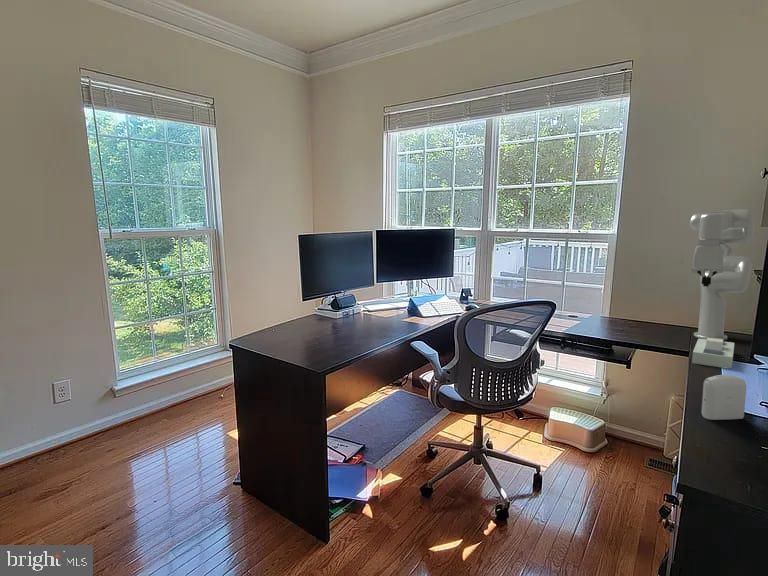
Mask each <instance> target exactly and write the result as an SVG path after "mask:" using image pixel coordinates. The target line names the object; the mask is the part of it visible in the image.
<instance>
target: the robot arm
mask: <svg viewBox="0 0 768 576" xmlns="http://www.w3.org/2000/svg"><path fill="white" fill-rule="evenodd" d="M754 219H755V218H754V214H753V212H752V211H751V210H750V209H746V208H745V209H741V208H740V209H723V210H716V211H709V212H701V213H700V212H699V213H695V214H693V215H692V216H691V217H690V220H689V227H690V229H691V230H692V231H695V232H698V233H699V234H698V245H697V246H695V248H694V253H693V259H692V269H691V272H692V273H697V274H698V275H699V285H700V286H699V287H700V300H699V301H700V304H699V314H698V315H699V317H698V327H697V328H698V330H697V331H695V332H693V336H694V337H695V338H698V339H706V340H707V338H709V337H711V338H720V339H724V341H727V340H728V335H726V334H724V332H725V331H724V330H725V322H726V321H725V319H726V310H727V299H726V298H725V296H724V295H723V294H722V293H737V294H740V293H741V294H742V293H743V292H745V291H747V290H748V287H749V283H750V279H751V273H752V269H753V266H752V265H753V264H752V260H751V259H750V258H749V257H747V256H744V255H743V256H742V255H735V252H734V250H733V249H732V248H731V247H730V246H729V245H728V244H748V243H751V242H752V241H753V240H754V238H755V235H756V234H755V220H754Z"/></svg>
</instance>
